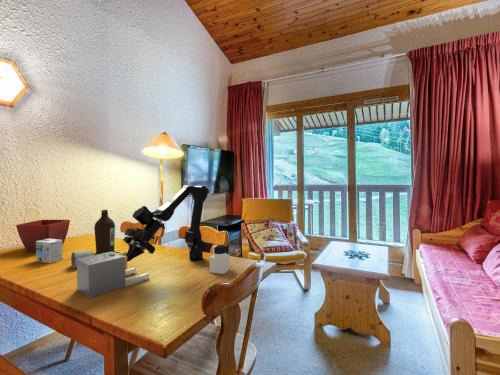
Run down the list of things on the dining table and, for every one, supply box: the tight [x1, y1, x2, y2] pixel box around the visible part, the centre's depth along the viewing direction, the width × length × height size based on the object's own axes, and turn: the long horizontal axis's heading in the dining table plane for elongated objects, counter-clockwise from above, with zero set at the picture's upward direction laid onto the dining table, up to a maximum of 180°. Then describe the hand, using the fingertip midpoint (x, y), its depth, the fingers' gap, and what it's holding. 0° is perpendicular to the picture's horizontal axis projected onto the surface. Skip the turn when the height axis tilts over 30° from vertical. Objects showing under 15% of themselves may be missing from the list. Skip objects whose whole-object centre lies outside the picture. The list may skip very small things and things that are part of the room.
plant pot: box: [15, 219, 71, 253], centre depth 158 cm, size 19×19×17 cm
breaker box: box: [76, 251, 150, 299], centre depth 104 cm, size 23×12×13 cm, turn 141°
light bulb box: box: [35, 239, 64, 264], centre depth 136 cm, size 11×7×11 cm, turn 73°
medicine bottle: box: [209, 243, 231, 275], centre depth 119 cm, size 7×7×12 cm
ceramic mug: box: [70, 249, 94, 269], centre depth 128 cm, size 11×8×8 cm
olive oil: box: [93, 209, 116, 255], centre depth 150 cm, size 11×11×25 cm
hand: (125, 261), depth 108 cm, fingers closed, pressing on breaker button
